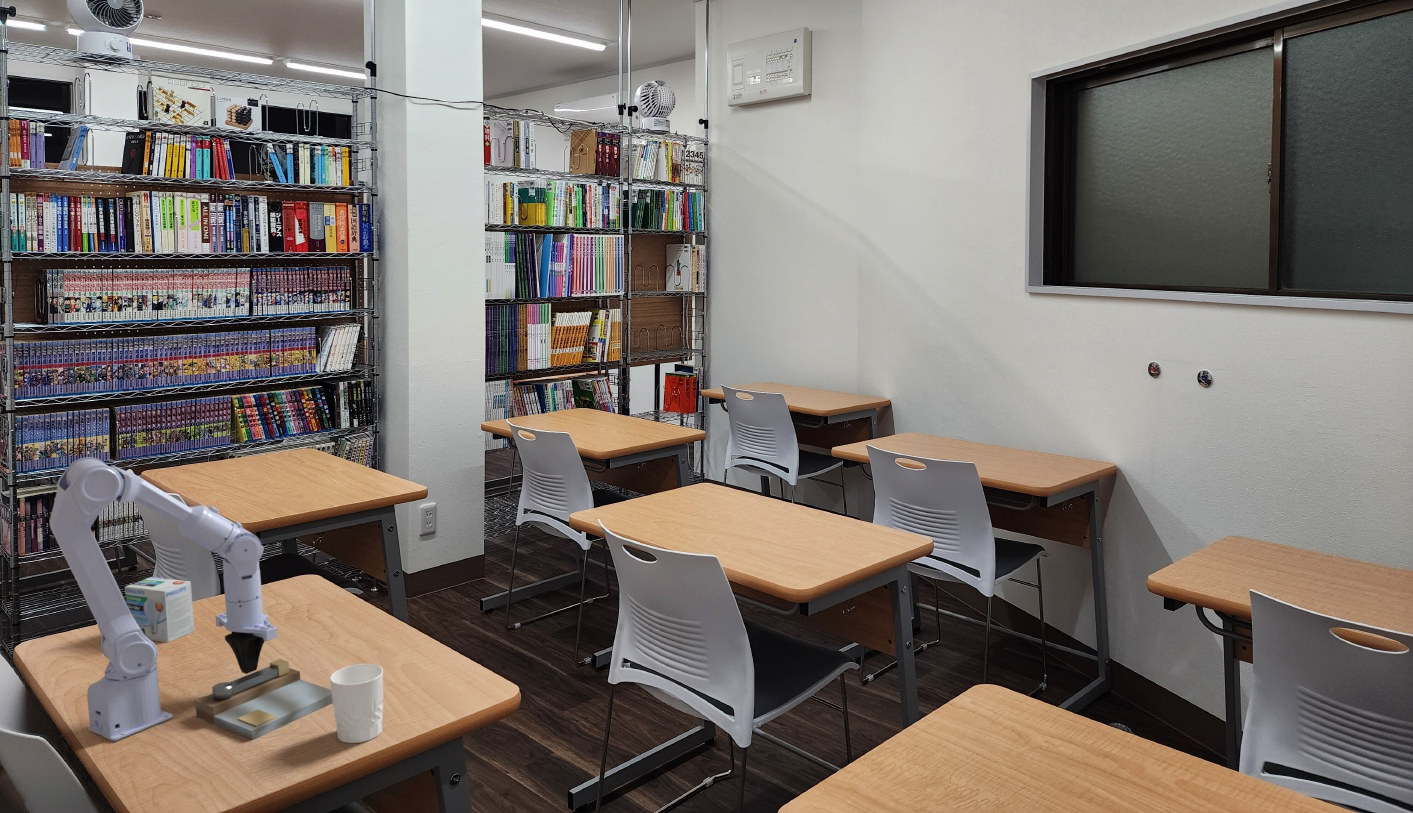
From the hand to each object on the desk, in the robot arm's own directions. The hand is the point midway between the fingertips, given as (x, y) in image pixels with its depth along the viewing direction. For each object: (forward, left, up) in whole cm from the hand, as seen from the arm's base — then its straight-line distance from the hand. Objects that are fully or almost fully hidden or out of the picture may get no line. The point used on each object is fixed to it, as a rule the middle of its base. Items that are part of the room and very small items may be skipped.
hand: (249, 671), depth 164 cm
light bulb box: (+7, +40, -4) cm, 41 cm away
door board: (-3, -10, -3) cm, 11 cm away
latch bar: (-3, -5, 0) cm, 6 cm away
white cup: (-1, -30, -4) cm, 30 cm away
